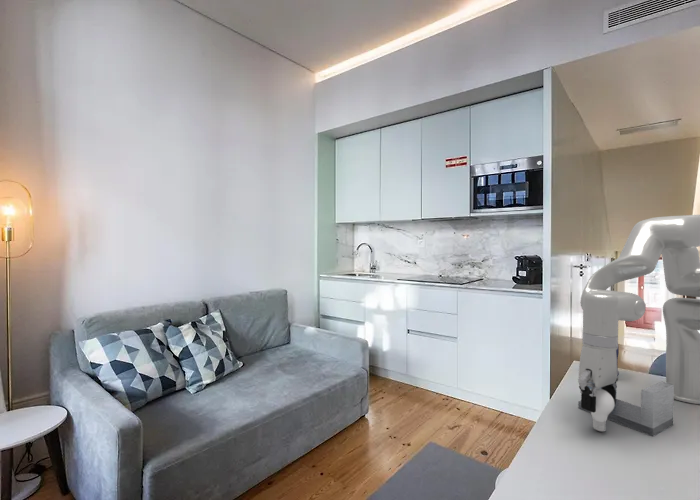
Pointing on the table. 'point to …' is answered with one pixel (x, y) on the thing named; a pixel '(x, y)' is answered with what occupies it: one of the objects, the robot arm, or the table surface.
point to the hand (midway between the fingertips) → (598, 406)
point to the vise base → (632, 417)
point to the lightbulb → (602, 409)
